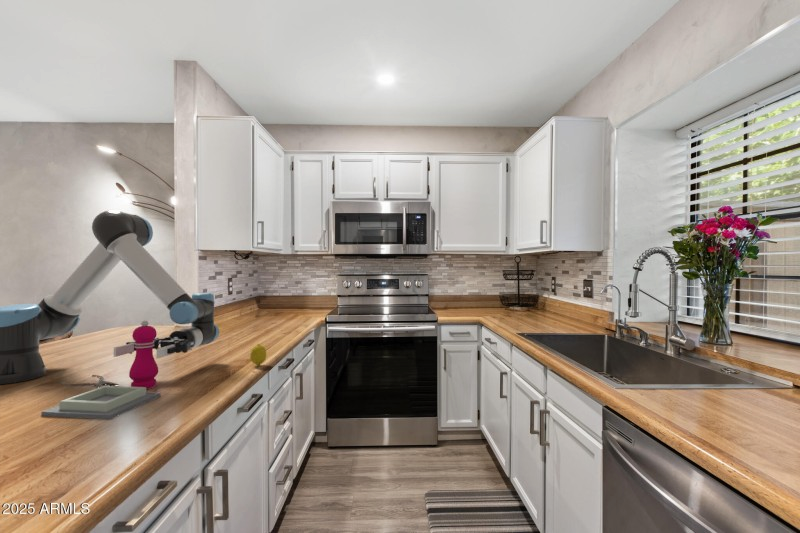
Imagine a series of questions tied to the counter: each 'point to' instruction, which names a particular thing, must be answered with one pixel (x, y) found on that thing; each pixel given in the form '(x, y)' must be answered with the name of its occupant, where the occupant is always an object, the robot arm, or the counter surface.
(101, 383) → the pliers
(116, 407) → the pocket board
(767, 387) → the counter surface
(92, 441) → the counter surface
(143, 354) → the pepper mill
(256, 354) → the lemon
